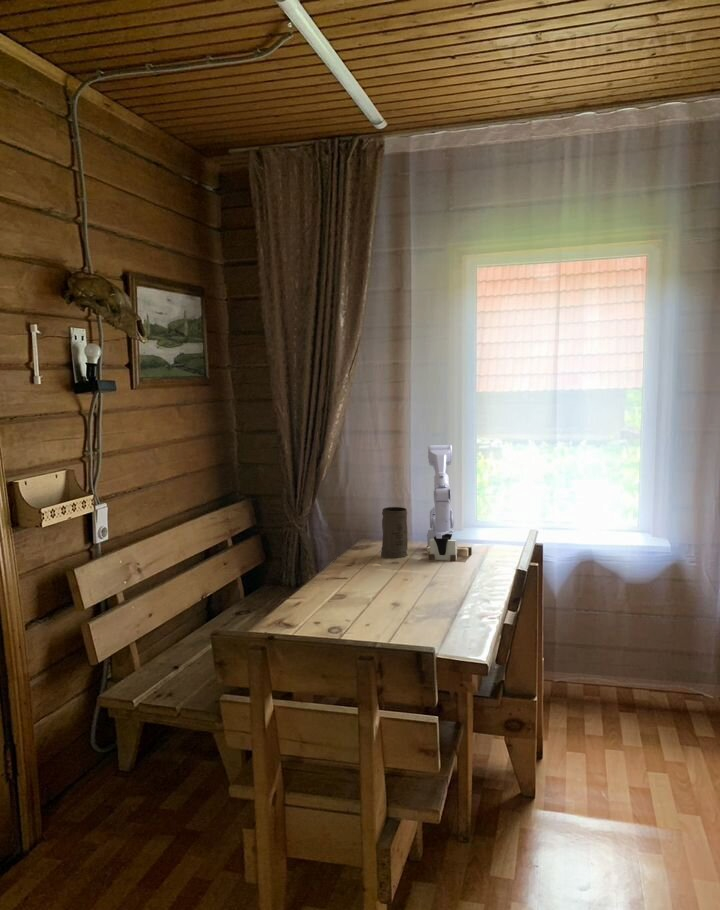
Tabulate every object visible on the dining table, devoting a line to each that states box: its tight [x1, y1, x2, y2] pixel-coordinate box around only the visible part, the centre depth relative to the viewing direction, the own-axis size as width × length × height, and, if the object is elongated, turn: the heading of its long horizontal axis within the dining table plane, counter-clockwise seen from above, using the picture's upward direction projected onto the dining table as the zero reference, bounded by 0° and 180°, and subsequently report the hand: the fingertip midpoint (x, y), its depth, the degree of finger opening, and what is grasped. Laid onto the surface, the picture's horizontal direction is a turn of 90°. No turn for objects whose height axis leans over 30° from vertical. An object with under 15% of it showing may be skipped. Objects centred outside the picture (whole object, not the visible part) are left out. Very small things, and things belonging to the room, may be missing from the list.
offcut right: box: [457, 546, 469, 557], centre depth 274 cm, size 6×3×3 cm, turn 71°
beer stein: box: [380, 506, 409, 560], centre depth 279 cm, size 15×11×20 cm
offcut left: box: [426, 546, 430, 555], centre depth 278 cm, size 6×3×3 cm, turn 71°
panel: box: [430, 539, 458, 560], centre depth 269 cm, size 10×3×8 cm, turn 71°
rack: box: [419, 545, 473, 563], centre depth 272 cm, size 18×14×4 cm
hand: (443, 553), depth 269 cm, fingers open, 4 cm apart
